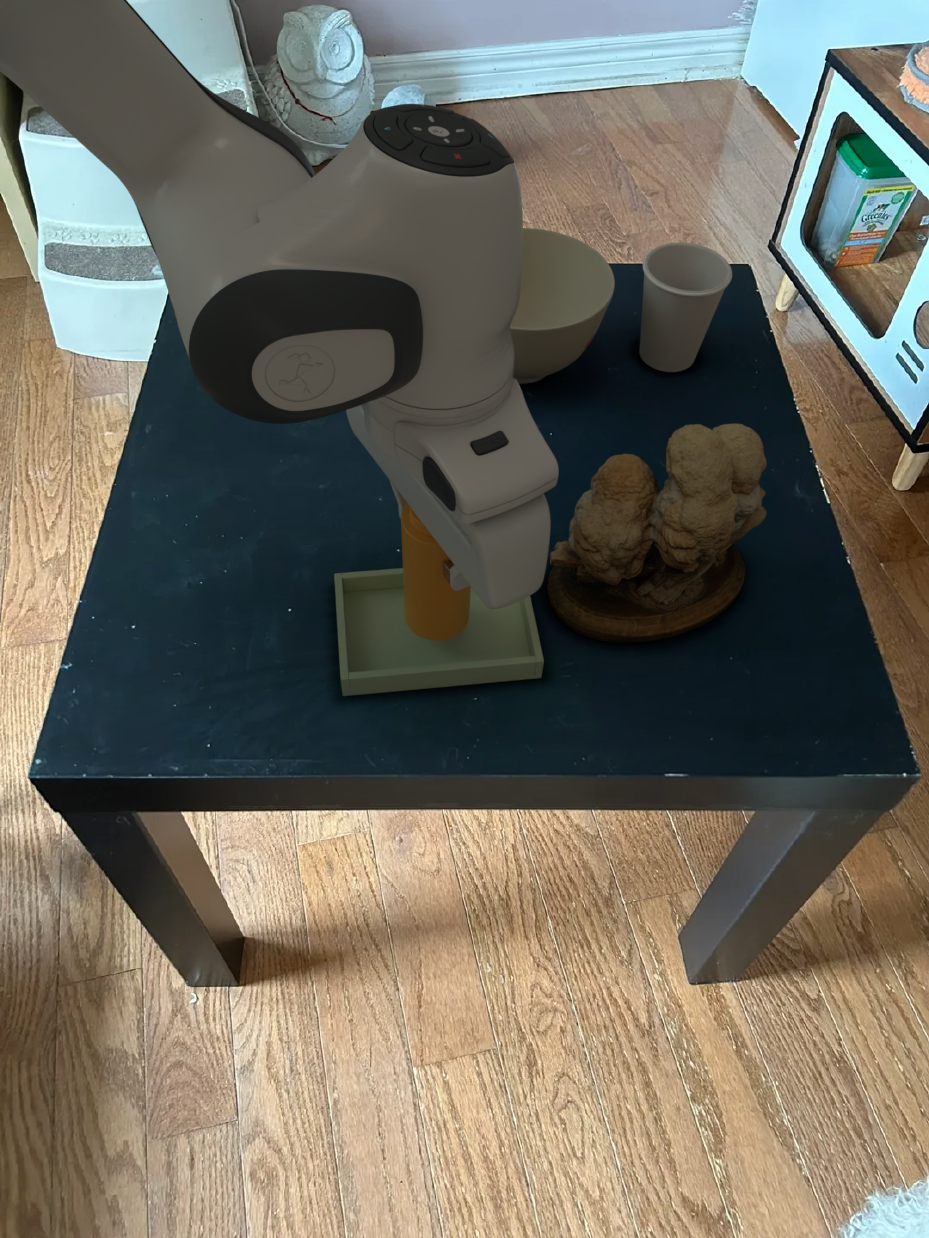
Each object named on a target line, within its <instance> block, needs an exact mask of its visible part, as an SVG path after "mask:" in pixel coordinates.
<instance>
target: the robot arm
mask: <svg viewBox="0 0 929 1238" xmlns="http://www.w3.org/2000/svg"><path fill="white" fill-rule="evenodd" d="M0 73H1V74H2V75H4V76H5V77H7V79H9V80H10V81H11V82H12V83H13V84H15V85H16V86H17V87H18V88H19V89H21V90H22V91H23V92H24V94H26V95H27V96H28V98H30V99H31V100H32V101H34V102H35V103H36V104H37V105H38V106H39V107H40V108H41V109H42V110H43V111H45V112H46V113H47V114H48V115H49V116H50V117H51V118H52V119H54V121H56V122H57V123H58V124H59V125H60V126H61V127H62V128H63V129H64V130H66V131H67V132H68V133H69V134H70V135H71V136H72V137H73V138H74V139H75V140H77V141H78V142H79V143H80V144H81V145H82V146H83V147H84V148H85V149H87V151H88V152H90V153H91V154H92V155H93V156H95V158H96V159H97V160H99V162H101V163H102V164H103V165H104V166H105V167H106V168H107V169H109V171H111V172H112V173H113V174H114V176H116V177H117V179H118V180H119V181H120V182H121V184H123V186H124V188H125V189H126V190H127V192H128V194H129V195H130V197H131V198H132V201H133V203H134V204H135V207H136V209H137V213H138V216H139V218H140V220H141V223H142V225H143V229H144V230H145V233H146V235H147V238H148V240H149V243H150V245H151V248H152V250H153V252H154V254H155V256H156V258H157V260H158V264H159V266H160V270H161V273H162V276H163V279H164V283H165V286H166V289H167V291H168V295H169V299H170V302H171V305H172V308H173V311H174V312H173V314H174V318H176V323H177V327H178V330H179V333H180V337H181V339H182V343H183V345H184V348H185V350H186V354H187V357H188V360H189V363H190V367H191V370H192V373H193V375H194V377H195V379H196V381H197V383H198V385H199V386H200V388H201V389H202V390H203V391H204V393H206V395H207V396H208V397H209V398H210V399H211V400H212V401H214V402H215V403H216V404H217V405H218V406H220V407H221V408H223V409H224V410H226V411H228V412H229V413H232V414H234V415H237V416H239V417H241V418H244V419H246V420H250V421H254V422H258V423H264V424H271V425H291V424H297V423H298V424H299V423H304V422H309V421H313V420H317V419H318V420H319V419H321V418H325V417H328V416H332V415H335V414H338V413H341V412H345V413H346V417H347V420H348V423H349V426H350V428H351V431H352V432H353V435H354V436H355V437H356V438H357V440H358V441H359V442H360V443H361V445H362V446H363V447H364V449H365V450H366V451H367V452H368V454H369V455H370V456H371V458H372V459H373V460H374V461H375V463H376V465H378V468H380V470H381V471H382V472H383V474H384V475H385V476H386V477H387V479H388V480H389V483H390V486H391V488H392V491H393V494H394V497H395V499H396V502H397V506H398V518H399V519H400V520H401V514H402V510H403V508H404V507H405V505H406V504H407V503H408V505H409V506H410V507H411V509H412V510H413V511H414V513H415V514H416V515H417V517H418V518H419V519H420V520H421V522H422V523H423V524H424V526H425V527H426V528H427V530H428V531H429V532H430V534H431V535H432V536H433V538H434V539H435V540H436V541H437V543H438V544H439V545H440V547H441V548H442V549H443V551H444V552H445V553H446V554H447V556H448V557H449V558H450V560H448V561H446V562H444V563H443V570H444V573H443V576H444V577H445V579H446V580H447V581H448V583H449V584H450V586H451V587H452V588H453V590H454V591H459V590H461V589H464V588H466V587H468V586H471V587H472V589H473V590H474V591H475V593H476V594H477V595H478V596H479V598H480V599H481V601H482V602H483V603H484V605H485V606H486V607H488V608H490V609H499V608H503V607H506V606H509V605H512V604H514V603H516V602H519V601H521V600H523V599H524V598H526V597H528V596H530V597H531V595H533V594H535V593H536V592H537V591H539V589H540V588H541V587H542V585H543V582H544V579H545V575H546V570H547V563H548V557H549V549H550V548H549V547H550V539H551V530H552V529H551V528H552V527H551V525H552V524H551V523H552V521H551V512H550V506H549V503H548V500H547V497H546V495H545V493H546V492H549V491H550V490H552V489H553V488H556V486H557V484H558V480H559V473H560V470H559V463H558V461H557V458H556V457H555V455H554V453H553V452H552V450H551V448H550V446H549V444H548V443H547V441H546V440H545V437H543V434H542V433H541V431H540V429H539V427H538V426H537V424H536V422H535V420H534V417H533V416H532V414H531V412H530V409H529V407H528V405H527V402H526V399H525V396H524V394H523V390H522V388H521V386H520V384H519V383H518V382H517V380H516V379H513V375H514V363H515V353H514V346H513V341H512V338H511V334H510V326H511V322H512V319H513V317H514V315H515V313H516V310H517V307H518V303H519V299H520V290H521V275H522V256H523V228H524V219H523V217H524V216H523V215H524V214H523V201H522V190H521V182H520V176H519V172H518V168H517V164H516V163H515V160H514V158H513V156H512V155H511V153H510V152H509V151H508V150H507V148H506V147H505V146H504V145H503V143H502V142H501V141H500V140H499V139H498V137H496V135H494V134H493V133H492V132H491V131H490V130H489V129H488V128H487V127H485V126H484V125H483V124H481V123H480V122H479V121H477V120H476V119H474V118H470V117H468V116H465V115H463V114H460V113H457V112H455V111H454V110H452V109H449V108H444V107H441V106H436V105H432V104H431V105H430V104H425V103H424V104H422V103H401V104H394V105H390V106H386V107H382V108H379V109H376V110H374V111H373V112H371V113H369V114H368V115H367V116H366V117H365V118H364V119H363V120H362V122H361V123H360V125H359V126H358V129H357V130H356V132H355V134H354V136H353V137H352V138H351V140H350V141H349V143H348V144H347V145H346V146H345V147H344V148H343V149H342V150H341V151H339V153H338V154H337V155H336V156H335V157H334V158H333V159H332V160H331V161H329V163H327V165H325V166H324V167H323V168H322V169H320V170H319V172H317V173H315V172H316V171H315V170H314V168H313V166H312V164H311V162H310V161H309V159H308V157H307V155H306V153H304V151H303V150H302V149H301V148H300V147H299V145H298V144H297V143H296V142H294V140H293V139H291V137H289V136H288V135H287V134H285V133H284V132H283V131H282V130H280V129H279V128H278V127H276V126H275V125H273V124H271V123H269V122H268V121H267V120H265V119H263V118H260V117H259V116H257V115H256V114H253V113H252V112H250V111H248V110H245V109H243V108H242V107H239V106H237V105H235V104H233V103H231V102H230V101H228V100H227V99H224V98H223V97H221V96H220V95H218V94H216V93H215V92H214V91H212V90H211V89H209V88H208V87H207V86H205V85H204V84H203V83H202V82H200V80H198V79H197V78H196V77H195V76H194V75H193V74H192V73H191V72H190V71H189V70H188V69H187V67H186V66H185V65H184V64H183V63H182V62H181V61H180V59H179V58H178V57H177V56H176V55H175V54H174V53H173V52H172V51H171V49H170V48H169V47H168V46H167V44H165V42H164V41H163V40H162V39H161V38H160V37H159V35H158V34H157V33H156V32H155V31H154V30H153V29H152V28H151V26H150V25H149V24H148V22H146V21H145V20H144V18H143V17H142V16H141V15H140V14H139V13H138V12H137V10H136V9H135V8H134V7H133V6H132V4H130V3H129V1H128V0H0Z"/></svg>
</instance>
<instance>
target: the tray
mask: <svg viewBox="0 0 929 1238" xmlns="http://www.w3.org/2000/svg"><path fill="white" fill-rule="evenodd" d="M333 575H334V592H335V609H336V610H335V611H336V627H337V642H338V644H337V645H338V658H339V675H340V676H339V677H340V686H341V693H342V697H349V696H359V695H371V694H381V693H382V694H383V693H392V692H394V693H395V692H403V691H414V690H425V689H436V688H445V687H447V688H448V687H458V686H468V685H479V684H490V683H491V684H492V683H500V682H512V681H513V682H514V681H523V680H532V679H533V680H534V679H541V678H542V676H543V669H544V663H545V658H544V655H543V649H542V645H541V644H542V643H541V640H540V635H539V631H538V626H537V621H536V616H535V612H534V607H533V602H532V597H531V595H530V596H528V597H526V598H524V599H523V600H521V601H519V602H516V603H514V604H512V605H509V606H506V607H503V608H499V609H490V608H488V607H486V606H485V605H484V603H483V602H482V601H481V599H480V598H479V596H478V595H477V594H476V593H475V591H474V590H473V589H472V587H471V594H470V614H469V621H468V624H467V625H466V627H465V628H464V630H463V631H462V632H461V633H459V634H458V635H456V636H455V637H452V638H450V639H446V640H439V641H435V640H428V639H424V638H422V637H420V636H418V635H416V634H415V633H414V632H413V631H412V630H411V629H410V628H409V627H408V625H407V623H406V620H405V611H404V585H403V567H401V568H398V567H397V568H387V569H385V568H384V569H374V570H373V569H372V570H363V571H348V572H337V573H333Z"/></svg>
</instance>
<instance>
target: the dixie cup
mask: <svg viewBox="0 0 929 1238" xmlns="http://www.w3.org/2000/svg"><path fill="white" fill-rule="evenodd" d="M642 270H643V273H644V274H643V290H642V304H641V305H642V306H641V318H640V319H641V321H640V338H639V351H638V352H639V356H640V358H641V360H642V361H643V362H644V363H645V364H646V365H647V366H649V367H651V368H652V369H655V370H656V371H657V370H658V371H661V372H665V373H677V372H682V371H685V370H687V369H688V368H690V367H691V366H692V365H693V364H694V362H695V360H696V359H697V358H696V357H697V355H698V353H699V351H700V348H701V346H702V344H703V341H704V340H705V339H704V338H705V337H706V334H707V332H708V329H709V328H710V324H711V322H712V320H713V318H714V315H715V313H716V311H717V308H718V306H719V304H720V301H721V300H722V297H723V295H724V292H725V290H726V289H727V287H728V286H729V285H730V283H731V281H732V279H733V269H732V266H731V264H730V263H729V262H728V261H727V259H726V258H725V257H724V256H723V255H721V254H720V253H719V252H717V251H715V250H713V249H711V248H709V247H707V246H703V245H700V244H697V243H690V242H671V243H665V244H662V245H659V246H657V247H655V248H653V249H651V250H650V251H649V252H647V254H646V255H645V257H644V258H643V261H642Z"/></svg>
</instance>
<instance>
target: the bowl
mask: <svg viewBox="0 0 929 1238" xmlns="http://www.w3.org/2000/svg"><path fill="white" fill-rule="evenodd" d="M615 284H616V280H615V276H614V272H613V269H612V267H611V266H610V264H609V263H608V261H607V260H606V258H604V256H603V255H602V254H600V253H599V252H598V251H597V250H596V249H594V248H593V247H592V246H591V245H588V244H587V243H585V242H584V241H582V240H579V239H577V238H575V237H572V236H570V235H567V234H564V233H561V232H557V231H554V230H549V229H543V228H537V227H536V228H533V227H523V256H522V275H521V290H520V299H519V303H518V307H517V310H516V313H515V315H514V317H513V319H512V322H511V326H510V334H511V338H512V341H513V346H514V353H515V363H514V375H513V379H516V380H517V382H518V383H519V385H520V384H521V385H525V384H526V385H527V384H533V383H536V382H538V381H541V380H543V379H544V378H545V377H547V376H550V375H553V374H555V373H558V372H560V371H561V370H563V369H566V368H567V367H569V366H570V365H571V364H573V363H574V362H575V361H577V360H578V358H580V357H581V356H582V355H583V353H584V352H585V351H586V350H587V349H588V347H589V346H590V344H591V343H592V342H593V339H594V338H595V336H596V333H597V332H598V329H599V327H600V325H601V323H602V322H603V319H604V317H605V314H606V312H607V310H608V308H609V305H610V303H611V301H612V299H613V295H614V292H615V287H616V285H615Z"/></svg>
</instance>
